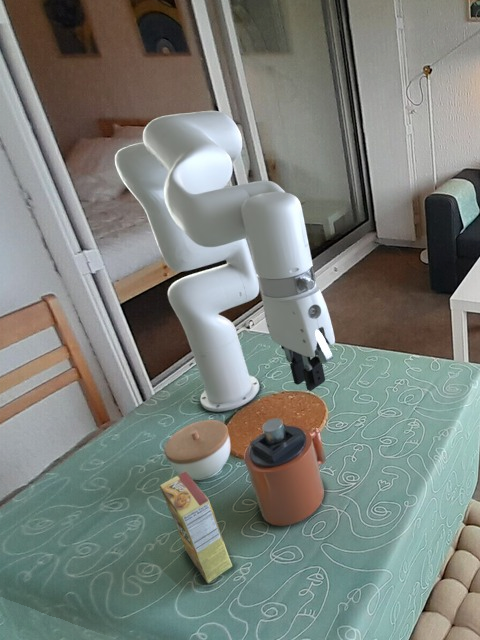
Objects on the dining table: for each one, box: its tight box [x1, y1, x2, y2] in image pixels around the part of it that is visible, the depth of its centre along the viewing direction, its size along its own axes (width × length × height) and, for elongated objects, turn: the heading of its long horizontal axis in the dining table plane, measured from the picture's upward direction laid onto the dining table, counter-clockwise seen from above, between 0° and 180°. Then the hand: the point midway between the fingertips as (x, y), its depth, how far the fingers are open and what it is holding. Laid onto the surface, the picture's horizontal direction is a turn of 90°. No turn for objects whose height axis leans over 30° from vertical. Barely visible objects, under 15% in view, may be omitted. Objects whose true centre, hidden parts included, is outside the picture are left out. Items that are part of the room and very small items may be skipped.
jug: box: [243, 423, 327, 527], centre depth 90 cm, size 11×14×15 cm
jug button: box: [262, 418, 286, 445], centre depth 85 cm, size 3×3×3 cm
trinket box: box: [163, 419, 232, 481], centre depth 97 cm, size 11×11×9 cm
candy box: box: [159, 471, 233, 584], centre depth 79 cm, size 9×4×15 cm, turn 50°
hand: (310, 382), depth 80 cm, fingers closed
